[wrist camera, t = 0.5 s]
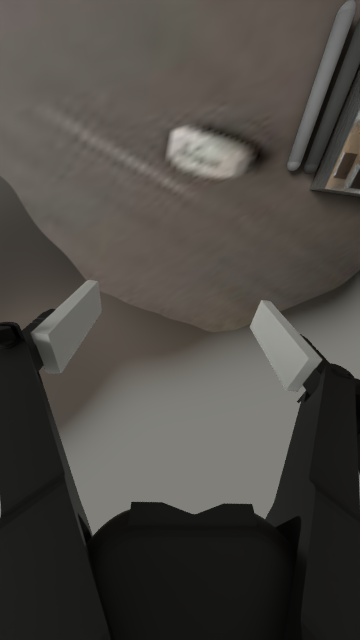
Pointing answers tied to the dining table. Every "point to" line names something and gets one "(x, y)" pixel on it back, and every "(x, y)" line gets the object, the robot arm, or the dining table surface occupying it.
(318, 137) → the cord
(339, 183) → the grey bracketed base
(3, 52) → the dining table surface
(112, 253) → the dining table surface
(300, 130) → the grey rod
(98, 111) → the dining table surface
